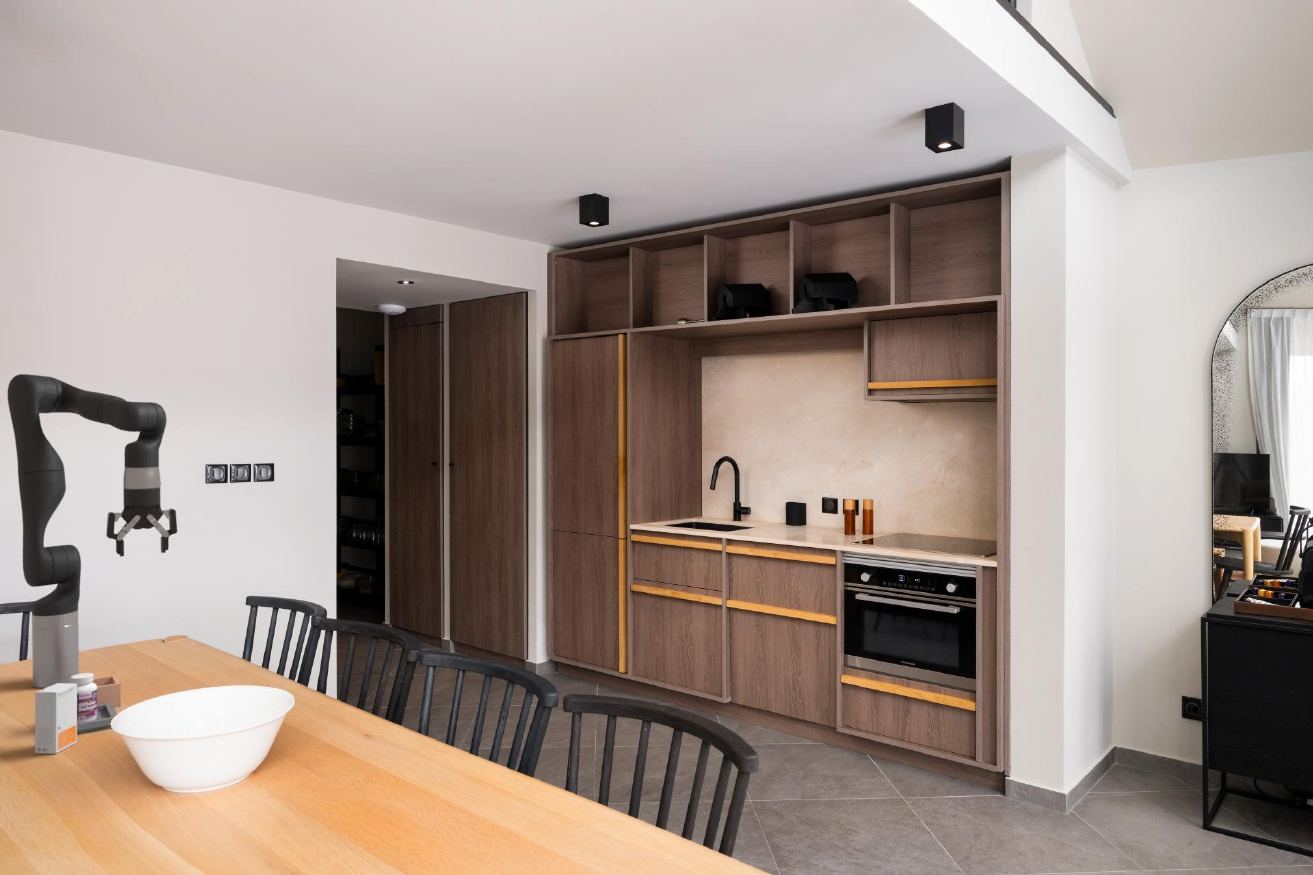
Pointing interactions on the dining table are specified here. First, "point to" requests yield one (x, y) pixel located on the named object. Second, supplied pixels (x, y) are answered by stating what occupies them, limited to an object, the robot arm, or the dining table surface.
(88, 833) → the dining table surface
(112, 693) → the open beige tray box
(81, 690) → the pill bottle
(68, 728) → the skincare box
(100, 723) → the charcoal tray
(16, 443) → the robot arm
